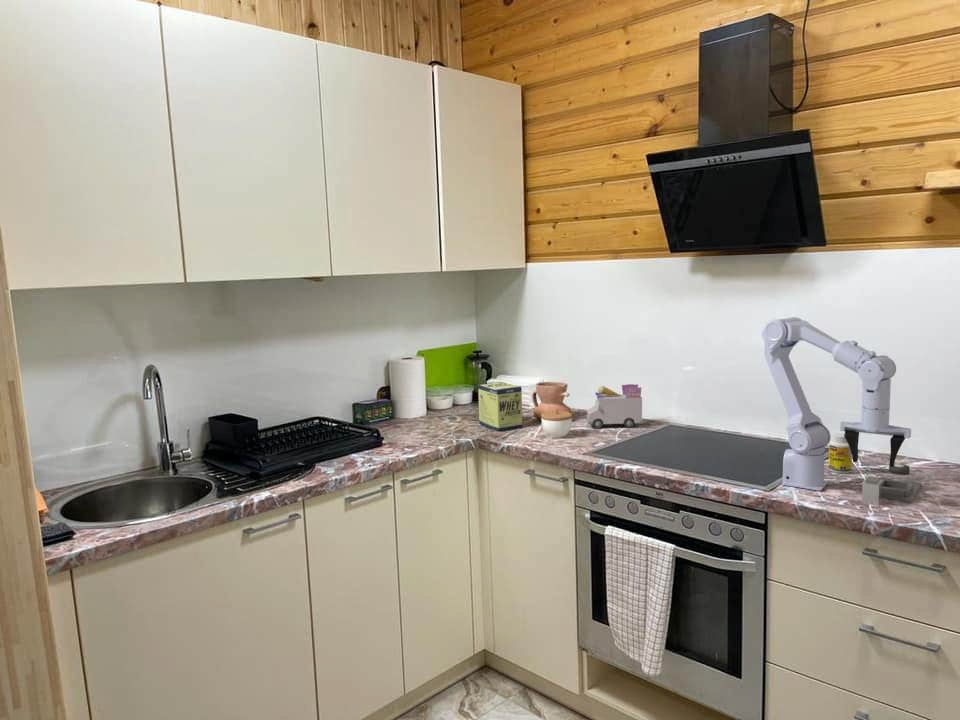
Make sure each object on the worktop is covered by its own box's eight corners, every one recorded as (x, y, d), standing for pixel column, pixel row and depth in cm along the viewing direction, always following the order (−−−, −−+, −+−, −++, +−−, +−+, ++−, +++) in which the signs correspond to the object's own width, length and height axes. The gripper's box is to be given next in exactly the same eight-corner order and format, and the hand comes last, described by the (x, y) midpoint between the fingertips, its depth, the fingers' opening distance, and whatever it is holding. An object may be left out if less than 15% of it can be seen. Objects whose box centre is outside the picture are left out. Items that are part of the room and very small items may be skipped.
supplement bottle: (824, 471, 192) (825, 434, 190) (834, 467, 195) (835, 431, 194) (845, 475, 187) (846, 438, 186) (855, 471, 190) (856, 434, 189)
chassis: (869, 496, 170) (870, 486, 170) (880, 480, 182) (881, 471, 181) (912, 503, 165) (913, 493, 164) (921, 486, 176) (921, 476, 176)
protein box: (498, 432, 250) (497, 389, 248) (478, 424, 264) (477, 384, 262) (523, 428, 255) (522, 386, 253) (502, 420, 268) (501, 381, 266)
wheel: (887, 473, 175) (887, 466, 175) (890, 468, 178) (890, 461, 178) (907, 475, 172) (908, 468, 172) (910, 471, 176) (910, 464, 175)
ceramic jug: (581, 419, 265) (580, 382, 264) (556, 425, 256) (555, 387, 254) (546, 414, 279) (545, 379, 277) (521, 420, 269) (520, 383, 268)
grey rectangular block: (861, 502, 166) (862, 480, 166) (865, 497, 170) (866, 475, 169) (878, 505, 164) (879, 482, 163) (881, 500, 168) (882, 477, 167)
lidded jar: (578, 437, 239) (577, 410, 238) (551, 441, 234) (551, 414, 233) (561, 431, 248) (561, 405, 247) (535, 435, 244) (535, 408, 243)
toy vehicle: (585, 424, 258) (585, 384, 256) (638, 422, 257) (638, 382, 255) (588, 430, 249) (588, 388, 247) (643, 428, 248) (643, 387, 246)
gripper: (837, 407, 165) (836, 462, 167) (908, 413, 156) (906, 472, 158) (844, 402, 171) (842, 456, 173) (913, 408, 162) (910, 464, 163)
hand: (873, 463), depth 166 cm, fingers open, 7 cm apart
